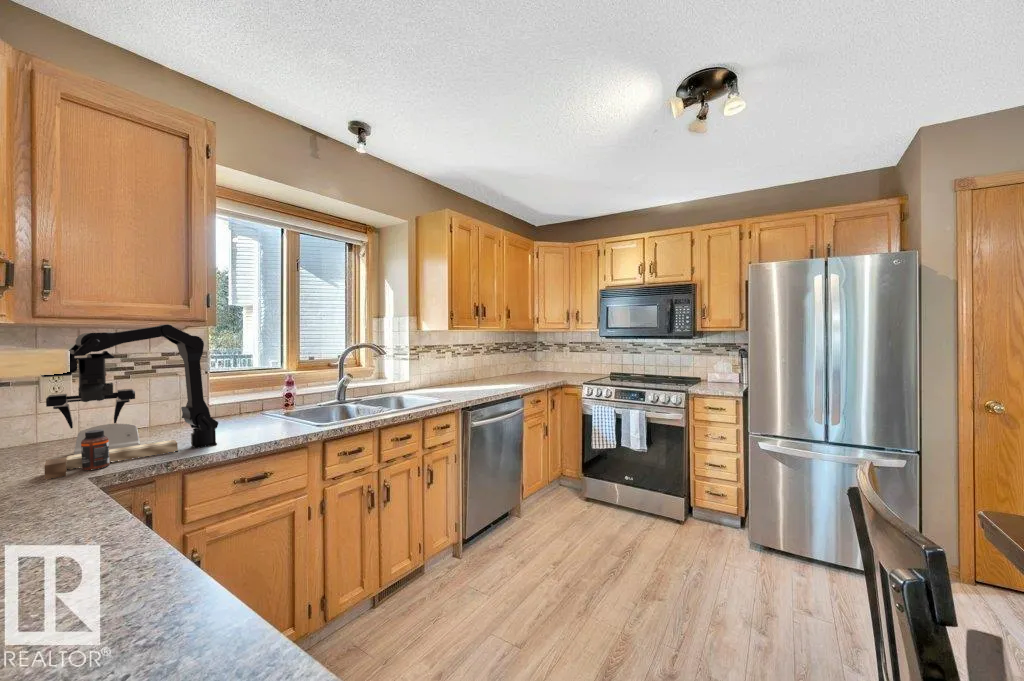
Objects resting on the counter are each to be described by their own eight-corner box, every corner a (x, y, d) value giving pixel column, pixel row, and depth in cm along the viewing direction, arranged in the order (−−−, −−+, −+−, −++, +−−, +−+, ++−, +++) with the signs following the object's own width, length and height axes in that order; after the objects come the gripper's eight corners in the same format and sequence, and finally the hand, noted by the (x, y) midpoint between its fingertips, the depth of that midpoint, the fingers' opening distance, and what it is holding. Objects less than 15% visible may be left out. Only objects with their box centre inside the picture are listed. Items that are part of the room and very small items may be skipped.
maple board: (175, 448, 147) (174, 439, 147) (177, 451, 143) (177, 442, 143) (67, 465, 129) (67, 455, 129) (66, 470, 125) (66, 459, 125)
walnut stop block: (66, 470, 124) (66, 457, 124) (65, 476, 120) (65, 462, 119) (46, 473, 122) (46, 460, 121) (44, 479, 117) (44, 465, 117)
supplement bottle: (115, 464, 130) (114, 428, 129) (97, 471, 124) (95, 433, 124) (95, 464, 130) (93, 428, 129) (76, 471, 124) (74, 433, 123)
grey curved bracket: (72, 456, 138) (73, 426, 140) (74, 458, 141) (75, 429, 144) (140, 447, 149) (139, 419, 151) (140, 449, 152) (140, 422, 155)
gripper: (43, 379, 114) (45, 436, 114) (135, 373, 127) (137, 424, 127) (46, 375, 121) (48, 429, 122) (133, 371, 135) (134, 419, 135)
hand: (93, 425), depth 126 cm, fingers open, 9 cm apart
